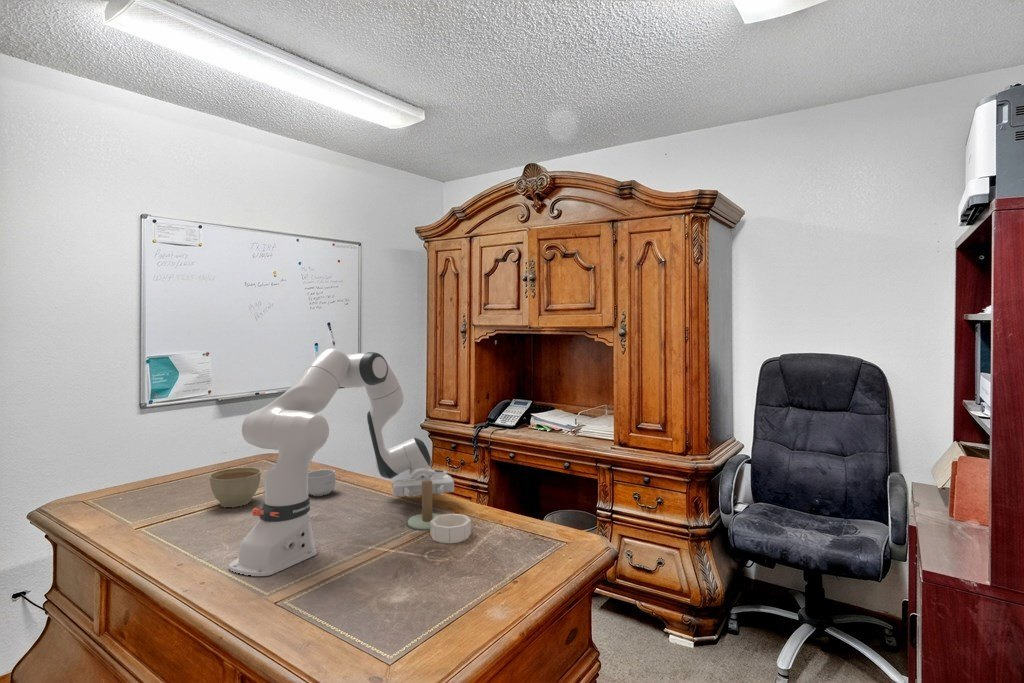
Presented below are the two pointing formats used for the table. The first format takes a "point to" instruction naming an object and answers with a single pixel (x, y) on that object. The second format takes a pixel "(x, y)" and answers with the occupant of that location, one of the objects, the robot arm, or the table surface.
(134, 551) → the table surface
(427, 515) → the peg stand
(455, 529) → the bowl
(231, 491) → the planter bowl
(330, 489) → the teacup
